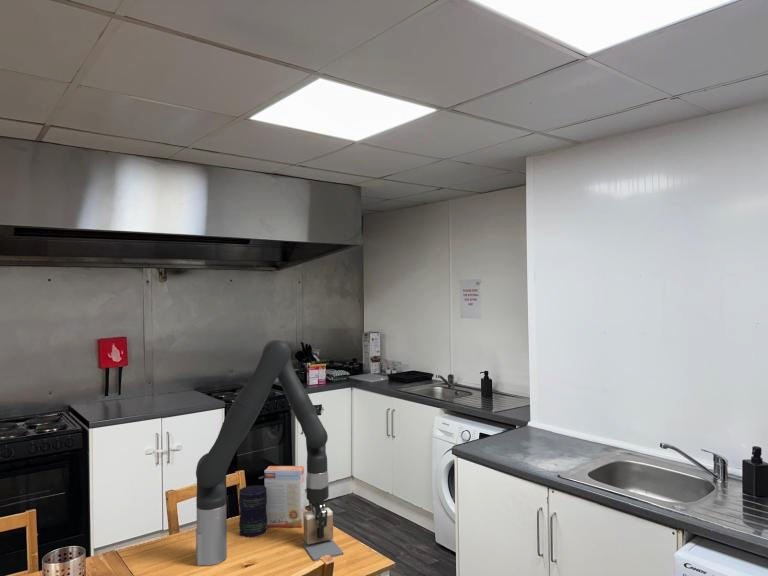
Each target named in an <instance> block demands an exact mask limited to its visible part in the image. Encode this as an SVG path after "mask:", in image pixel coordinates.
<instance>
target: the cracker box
mask: <svg viewBox="0 0 768 576" xmlns="http://www.w3.org/2000/svg"><path fill="white" fill-rule="evenodd" d="M263 473H264V486H265V487H266V489H267V491H266V492H267V504H266V514H267V528H268V527H269V528H270V527H271V528H303V527H304V521H303V512H306V491H305V490H306V486H305V485H306V484H305V483H306V482H305V480H306V479H305V466H304V465H269V466H267V468H266V469H264V472H263Z"/></svg>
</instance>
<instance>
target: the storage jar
mask: <svg viewBox="0 0 768 576" xmlns="http://www.w3.org/2000/svg"><path fill="white" fill-rule="evenodd" d="M266 491H267V489H266V487H265V485H259V484H258V485H257V484H255V485H248V486H244V487H242V488H240V489H239V491H238V492H239V493H238V503H239V504H238V506H239V520H238V521H239V522H238V524H239V525H238V527H239V536H241V537H242V536H244V537H243V538H248V537H249V539H250V538H257V537H260V536H263V535H265V534H266V533H267V532H266V531H268V527H267V514H266V504H267V492H266ZM264 533H265V534H264ZM262 534H263V535H262Z"/></svg>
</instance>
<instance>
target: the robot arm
mask: <svg viewBox="0 0 768 576" xmlns="http://www.w3.org/2000/svg"><path fill="white" fill-rule="evenodd" d="M291 352H292V351H291V349H290V346H289V345H288V344H287V343H286V342H284V341H282V340H279V339H275V340H271V341H270V340H269V341H268V342H267V343H266V344H265V345H264V346H263V348H262V353H261V358H259V361H258V364H257V366H256V369H254V372H253V374H252V376H251V377H250V378H249V379H248V380H247V382H246V383H245V384H244V386H243V387H242V388H241V389H240V391H239V392H238V394H237V395H236V397H235V398H234V400H233V402H232V404H230V405H231V406H230V408H229V409H228V411H227V413H226V415H225V417H224V420H223V422H222V424H221V428H220V430H219V432H218V435H217V438H216V440H215V441H214V443H213V445H212V447H211V448H210V450H209V451H208V452H207V453H205V454H203V455H202V456H201V457H200V458H199V460H198V462H197V465H196V469H195V476H196V497H195V498H196V504H195V505H196V528H195V559H196V564H197V566H198V567H200V566H208V567H209V566H213V565H217V564H220V563H222V562H224V561H225V560H226V559H228V558H227V557H228V547H227V546H228V544H227V543H228V542H227V541H228V538H227V537H228V532H227V531H228V530H227V523H228V522H227V515H228V514H227V472H228V470H229V467H230V465H231V462H232V460H233V459H234V456H235V454H236V451H237V450H238V448H239V447H240V445H241V443H243V441H244V439H245V438H246V436H247V435H248V434H249V431H250V430H251V428H252V426H253V425H254V424H255V422H256V420H257V418H258V416H259V414H260V412H261V411H262V408H263V407H264V405H265V403H266V400H267V398H268V396H269V394H270V391H271V390H272V387H273V385H274V383H275V382H276V381H277V379H278V382H279V383H280V386H281V387H282V388H281V389H282V390H283V392H284V395H285V397H286V399H287V402H288V405H289V406H290V408H291V410H292V411H291V412H292V413H293V415H294V416H295V418H296V420H297V421H298V423H299V424H300V428H301V430H302V432H303V434H304V437H305V446H306V477H305V478H306V479H305V480H306V482H305V483H306V484H305V485H306V486H305V490H306V491H305V493H306V499H307V501H308V506H309V511H312V512H313V511H314V515H315V520H316V521H317V538H318V539H320V538H324V527H326V525H327V513H328V512H327V510H325V508H326V505H325V501H326V500H327V499H328V498H329V495H330V494H329V493H330V491H329V474H328V473H329V471H328V455H327V452H326V450H327V449H326V448H327V447H326V446H327V442H328V432H327V430H326V428H325V427H324V425H323V423H322V421H321V420H320V417H319V416H318V414H317V410H316V408H315V405H314V404H313V402H312V400H311V397H310V396H309V394H308V391H307V390H306V389H305V387H304V386H303V385H304V384H302V382H301V380H300V378H299V377H298V375H297V373H296V371H295V368H294V366H293V363H292V359H291V355H292V353H291ZM317 515H318V516H319V517H317ZM321 522H322V523H321Z"/></svg>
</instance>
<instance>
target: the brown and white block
mask: <svg viewBox="0 0 768 576" xmlns="http://www.w3.org/2000/svg"><path fill="white" fill-rule="evenodd" d="M325 510H327V512H328V513H327V525H326V527H324V538H320V539H318V538H317V521H316V520H315V515H314V511H313V512H312V511H310V510H309V511H305V512H303V521H304V524H303V540H304V541H306V543H307V544H312V543H316V542H321V541H325V540H330V539H333V540H334V511H332V510H331V509H330V507H325ZM317 517H319V516H318V515H317ZM321 523H322V522H321Z"/></svg>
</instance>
